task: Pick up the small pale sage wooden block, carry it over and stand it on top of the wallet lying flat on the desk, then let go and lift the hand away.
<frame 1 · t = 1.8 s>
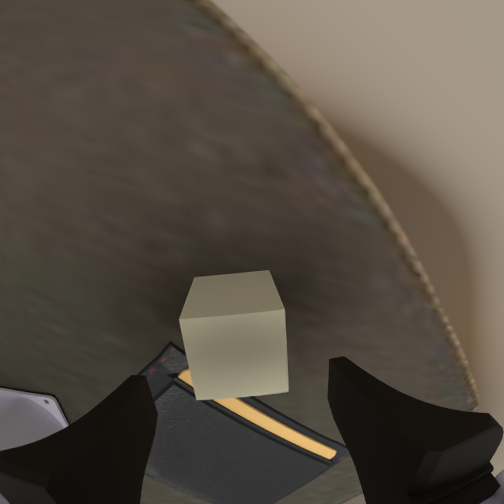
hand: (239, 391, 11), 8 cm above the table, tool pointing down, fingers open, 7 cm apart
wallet: (219, 450, 23), on the table
block: (235, 308, 19), on the table
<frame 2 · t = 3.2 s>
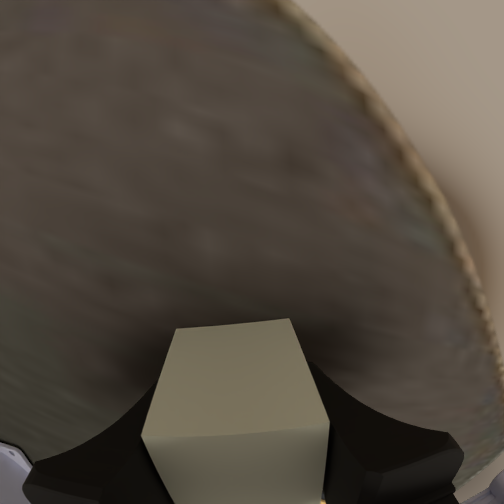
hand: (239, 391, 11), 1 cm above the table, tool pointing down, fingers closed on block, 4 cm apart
block: (238, 370, 13), on the table, touching gripper
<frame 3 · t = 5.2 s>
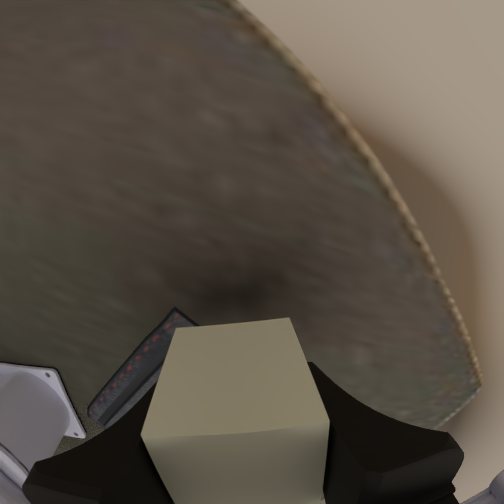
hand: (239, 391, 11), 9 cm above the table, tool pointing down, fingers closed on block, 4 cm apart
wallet: (221, 426, 24), on the table
block: (238, 370, 13), point 8 cm above the table, touching gripper
when the fingers open (5 cm above the table, at t = 7.6 s): block drops 2 cm, resting on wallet.
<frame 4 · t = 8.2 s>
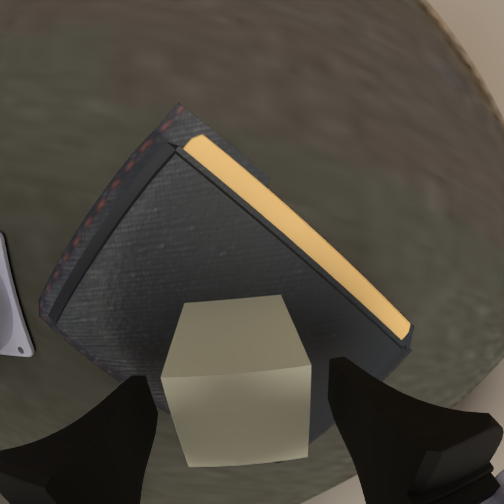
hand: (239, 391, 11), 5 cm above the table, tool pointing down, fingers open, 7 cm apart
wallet: (234, 326, 17), on the table, touching block
block: (237, 341, 15), point 1 cm above the table, touching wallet
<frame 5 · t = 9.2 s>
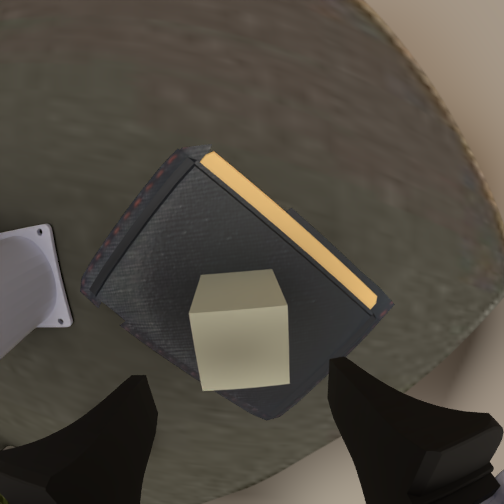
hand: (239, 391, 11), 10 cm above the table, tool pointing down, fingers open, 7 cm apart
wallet: (237, 296, 23), on the table, touching block
block: (239, 304, 20), point 1 cm above the table, touching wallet
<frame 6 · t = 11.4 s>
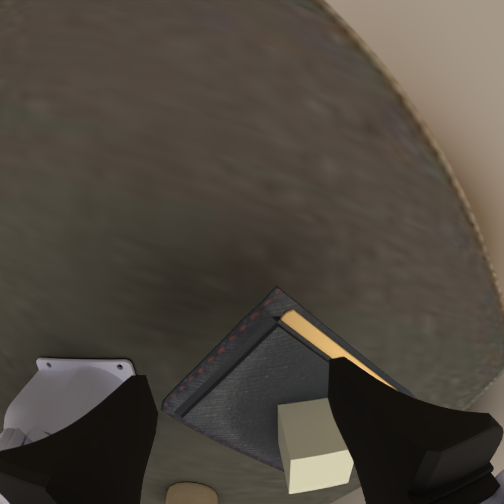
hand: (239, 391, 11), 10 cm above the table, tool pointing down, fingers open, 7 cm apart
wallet: (299, 405, 25), on the table
candle: (192, 492, 26), on the table
block: (304, 420, 23), point 1 cm above the table
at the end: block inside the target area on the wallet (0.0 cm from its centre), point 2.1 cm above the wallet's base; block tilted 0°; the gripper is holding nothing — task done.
